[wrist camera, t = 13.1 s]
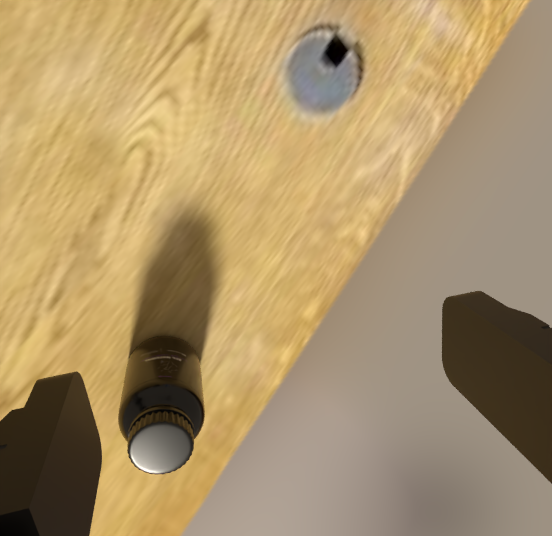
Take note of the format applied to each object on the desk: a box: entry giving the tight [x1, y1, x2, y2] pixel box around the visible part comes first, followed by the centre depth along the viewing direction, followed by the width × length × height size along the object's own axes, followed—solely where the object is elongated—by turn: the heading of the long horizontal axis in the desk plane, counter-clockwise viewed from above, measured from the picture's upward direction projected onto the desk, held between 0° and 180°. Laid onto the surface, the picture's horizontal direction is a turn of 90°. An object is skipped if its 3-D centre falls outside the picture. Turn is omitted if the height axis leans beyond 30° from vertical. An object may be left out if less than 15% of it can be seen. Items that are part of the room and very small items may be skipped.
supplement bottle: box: [118, 336, 205, 474], centre depth 41 cm, size 7×7×12 cm
